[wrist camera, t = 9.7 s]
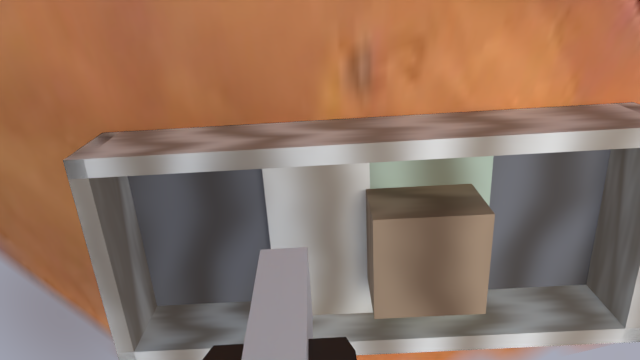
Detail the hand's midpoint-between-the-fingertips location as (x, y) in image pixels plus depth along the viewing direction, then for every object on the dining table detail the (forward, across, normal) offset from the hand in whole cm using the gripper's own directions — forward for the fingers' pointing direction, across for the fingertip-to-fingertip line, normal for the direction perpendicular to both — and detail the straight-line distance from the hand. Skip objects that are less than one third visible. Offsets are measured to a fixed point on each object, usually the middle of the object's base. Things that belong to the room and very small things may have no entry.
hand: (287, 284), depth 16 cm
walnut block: (+16, +8, -8) cm, 19 cm away
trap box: (+18, +4, -8) cm, 20 cm away
